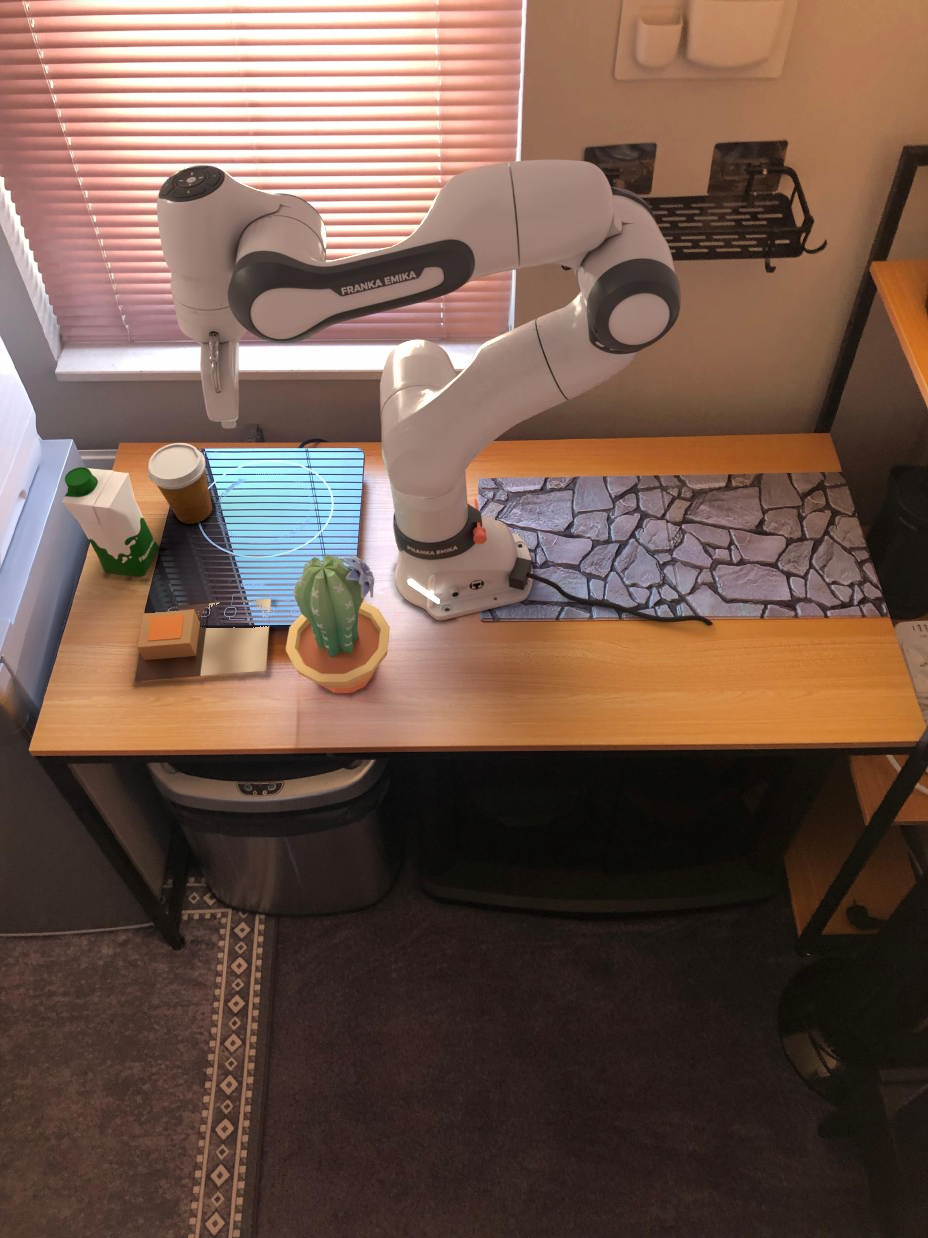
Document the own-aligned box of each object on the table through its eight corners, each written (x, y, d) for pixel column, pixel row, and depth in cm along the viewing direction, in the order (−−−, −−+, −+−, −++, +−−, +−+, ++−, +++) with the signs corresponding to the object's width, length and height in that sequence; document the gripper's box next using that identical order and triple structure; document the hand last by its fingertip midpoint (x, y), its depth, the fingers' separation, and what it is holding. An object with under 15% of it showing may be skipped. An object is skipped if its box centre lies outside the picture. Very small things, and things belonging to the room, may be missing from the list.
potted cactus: (376, 722, 139) (352, 621, 119) (279, 699, 142) (240, 596, 122) (409, 639, 147) (392, 531, 127) (318, 618, 150) (287, 510, 130)
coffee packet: (200, 622, 150) (194, 608, 147) (196, 656, 146) (189, 642, 143) (149, 626, 150) (142, 612, 147) (144, 660, 146) (136, 647, 143)
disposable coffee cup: (216, 530, 163) (197, 480, 153) (162, 531, 163) (139, 481, 154) (225, 490, 169) (207, 439, 159) (172, 491, 169) (151, 441, 159)
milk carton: (120, 540, 163) (76, 454, 147) (169, 546, 161) (130, 460, 145) (98, 579, 158) (50, 495, 142) (148, 586, 156) (106, 501, 140)
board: (272, 602, 153) (271, 598, 152) (267, 675, 144) (265, 670, 144) (149, 612, 153) (146, 608, 152) (137, 685, 144) (134, 681, 144)
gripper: (241, 364, 106) (255, 454, 117) (240, 258, 118) (253, 349, 129) (183, 366, 106) (203, 457, 117) (189, 259, 117) (206, 351, 129)
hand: (229, 399), depth 123 cm, fingers open, 8 cm apart
